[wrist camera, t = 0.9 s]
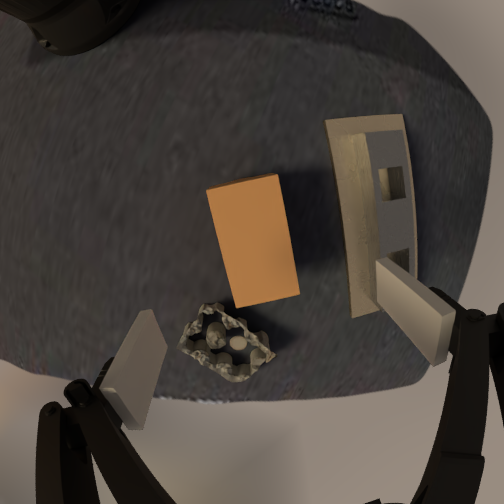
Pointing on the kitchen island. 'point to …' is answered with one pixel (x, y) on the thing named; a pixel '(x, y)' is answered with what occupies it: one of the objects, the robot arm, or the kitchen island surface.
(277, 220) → the orange toy brick
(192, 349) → the egg carton
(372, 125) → the beige grey stepped block
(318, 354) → the kitchen island surface
